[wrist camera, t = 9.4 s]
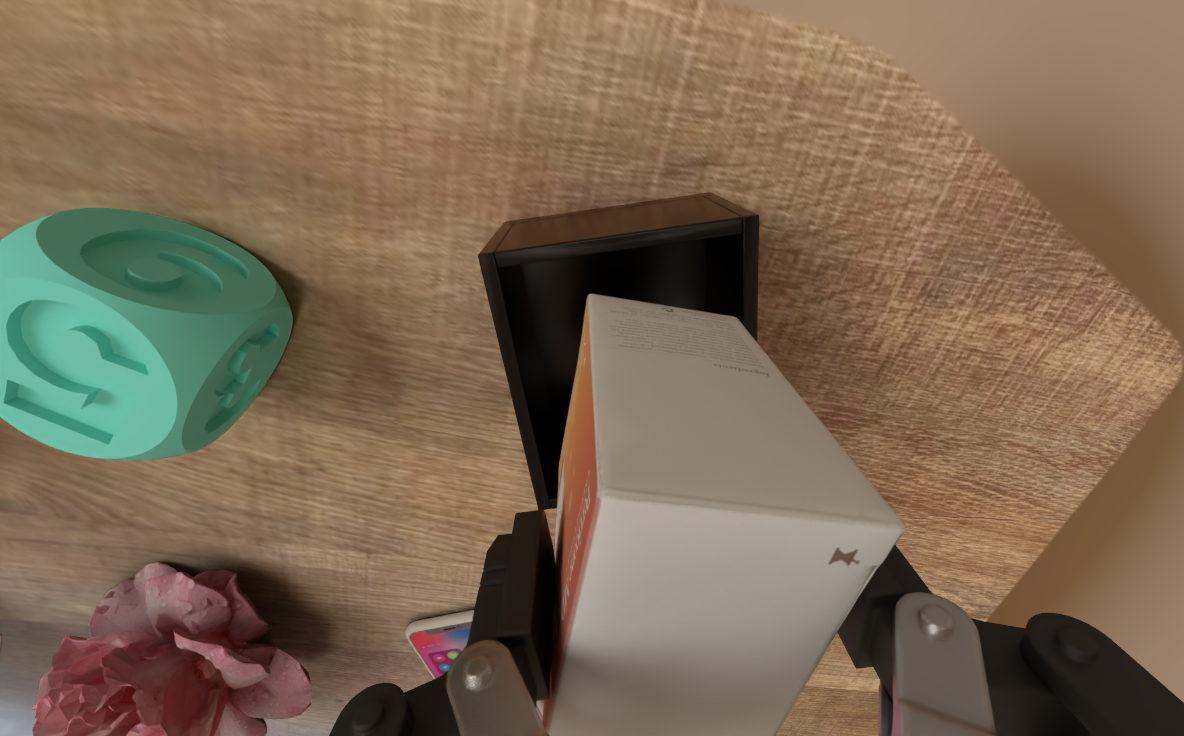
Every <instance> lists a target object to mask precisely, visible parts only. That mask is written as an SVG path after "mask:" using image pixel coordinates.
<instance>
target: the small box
mask: <svg viewBox="0 0 1184 736" xmlns="http://www.w3.org/2000/svg"><path fill="white" fill-rule="evenodd" d="M904 531H905V527H904V524H903V523H902V521H901V520H900V518H899V517H898V516H897V514H896V513H895V512H894V511H893V510H892V508H891V507H890V506H889V505H888V504H887V502H886V501H885V500H884V499H883V498H882V496H881V495H880V494H879V492H878V491H877V490H876V489H875V487H874V486H873V485H872V484H871V482H870V481H869V480H868V479H867V478H866V476H865V475H864V474H863V473H862V471H861V470H860V469H859V468H858V466H857V465H856V464H855V463H854V461H853V460H852V459H851V458H850V456H849V455H848V454H847V453H846V451H845V450H844V449H843V448H842V447H841V445H840V444H839V443H838V442H837V440H836V439H835V438H834V437H833V436H832V434H831V433H830V432H829V430H828V429H827V428H826V427H825V426H824V424H823V423H822V422H821V421H820V420H819V419H818V418H817V416H816V415H815V413H814V412H813V411H812V410H811V409H810V408H809V406H808V405H807V404H806V403H805V401H804V400H803V399H802V398H801V396H800V395H799V394H798V393H797V392H796V390H795V389H794V388H793V387H792V385H791V384H790V383H789V381H788V380H787V379H786V378H785V377H784V376H783V374H782V373H781V372H780V371H779V369H778V368H777V367H776V366H775V364H774V363H773V362H772V361H771V359H770V358H769V357H768V356H767V354H766V353H765V352H764V351H763V349H762V348H761V347H760V346H759V345H758V343H757V342H756V341H755V340H754V338H753V337H752V336H751V335H750V333H749V332H748V331H747V330H746V328H745V327H744V326H743V325H742V323H741V322H740V321H739V320H738V319H737V318H736V317H734V316H727V315H720V314H714V313H708V312H702V311H696V310H690V309H683V308H677V307H671V306H665V305H659V304H653V303H646V302H640V301H633V300H627V299H621V298H615V297H609V296H602V295H596V294H589V295H588V296H587V300H586V308H585V315H584V322H583V330H582V337H581V344H580V350H579V356H578V362H577V368H576V374H575V379H574V384H573V390H572V395H571V401H570V406H569V411H568V417H567V422H566V428H565V434H564V439H563V445H562V451H561V456H560V462H559V479H558V500H557V513H556V525H555V538H554V555H555V564H556V569H555V588H554V607H553V626H552V652H551V676H550V695H549V700H544V705H543V725H544V727H545V729H546V731H547V733H548V735H549V736H777V733H778V732H779V730H780V728H781V726H782V724H783V722H784V721H785V719H786V717H787V716H788V714H789V712H790V711H791V709H792V707H793V705H794V704H795V702H796V700H797V698H798V697H799V695H800V693H801V692H802V690H803V688H804V687H805V685H806V683H807V681H808V680H809V678H810V677H811V675H812V673H813V672H814V670H815V668H816V667H817V665H818V663H819V662H820V660H821V658H822V656H823V655H824V653H825V651H826V649H827V647H828V646H829V644H830V643H831V641H832V640H833V638H834V637H835V635H836V633H837V631H838V630H839V628H840V626H841V625H842V623H843V622H844V620H845V619H846V617H847V615H848V614H849V612H850V611H851V609H852V607H853V605H854V604H855V602H856V600H857V599H858V597H859V595H860V594H861V592H862V591H863V589H864V588H865V586H866V585H867V583H868V582H869V580H870V579H871V577H872V576H873V574H874V573H875V571H876V569H877V568H878V567H879V566H880V565H881V564H882V563H883V561H884V560H885V559H886V557H887V556H888V554H889V553H890V551H891V550H892V548H893V547H894V545H895V544H896V542H897V541H898V539H899V538H900V537H901V536H902V534H903V533H904Z"/></svg>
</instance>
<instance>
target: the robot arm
mask: <svg viewBox="0 0 1184 736" xmlns="http://www.w3.org/2000/svg"><path fill="white" fill-rule="evenodd" d="M483 569H484V572H483V573H482V578H481V582H480V585H481V586H480V587H479V591H478V596H477V601H476V605H475V610H474V614H473V619H472V624H471V628H470V633H469V637H468V641H467V645H466V647H465V649H464V650H463V651H461V652H460V653H459V654H458V656H457V657H456V658H455V659H454V661H453V662H452V664H451V666H450V668H449V670H448V671H447V672H446V673H444V674H443V675H441V676H440V677H438V678H436V679H434V680H432V681H430V682H427V683H425V684H423V685H421V686H418V687H416V688H414V689H412V690H409V691H407V692H405V693H403V691H402V689H401V688H400V687H398V686H397V685H395V684H392V683H379V684H375V685H372V686H370V687H368V688H366V689H364V690H363V691H361V692H360V693H358V694H357V695H356V696H355V697H354V698H353V699H351V700H350V701H349V703H348V704H347V705H346V706H345V707H344V709H343V710H342V712H341V713H340V715H339V717H338V719H337V720H336V723H335V725H334V727H333V729H332V731H331V733H330V735H329V736H549V735H548V733H547V731H546V729H545V727H544V725H543V722H542V720H541V718H540V716H539V714H538V712H537V709H536V703H537V701H540V700H549V695H550V676H551V652H552V626H553V607H554V588H555V569H556V564H555V555H554V549H553V545H552V540H551V536H550V532H549V527H548V523H547V519H546V515H545V512H544V510H537V511H529V512H521V513H516V515H515V520H514V526H513V532H512V534H505V535H498V536H497V538H496V539H495V541H494V542H493V544H492V545H491V547H490V548H489V549H488V551H487V555H486V559H485V564H484V568H483ZM837 632H838V634H839V636H840V638H841V640H842V642H843V644H844V646H845V648H846V650H847V652H848V654H849V656H850V658H851V660H852V661H853V663H854V665H855V667H856V668H866V667H874V669H875V671H876V673H877V675H878V676H879V678H880V685H879V721H878V736H1184V703H1183V702H1182V701H1181V700H1180V699H1179V698H1177V697H1176V696H1175V695H1174V694H1173V693H1172V692H1171V691H1169V690H1168V689H1167V688H1166V687H1165V686H1164V685H1162V684H1161V683H1160V682H1159V681H1158V680H1157V679H1156V678H1155V677H1153V676H1152V675H1151V674H1150V673H1149V672H1148V671H1146V670H1145V669H1144V668H1143V667H1142V666H1141V665H1140V664H1138V663H1137V662H1136V661H1135V660H1134V659H1133V658H1131V657H1130V656H1129V655H1128V654H1127V653H1126V652H1125V651H1124V650H1122V649H1121V648H1120V647H1119V646H1118V645H1117V644H1116V643H1114V642H1113V641H1112V640H1111V639H1110V638H1108V637H1107V636H1106V635H1105V634H1103V633H1102V632H1100V631H1099V630H1097V629H1096V628H1094V627H1092V626H1091V625H1089V624H1087V623H1085V622H1083V621H1080V620H1078V619H1075V618H1073V617H1070V616H1066V615H1062V614H1056V613H1041V614H1038V615H1035V616H1033V617H1032V618H1031V619H1030V620H1029V621H1028V623H1027V626H1026V628H1025V629H1024V628H1018V627H1013V626H1006V625H1001V624H995V623H989V622H984V621H979V620H976V619H973V618H970V617H969V615H968V614H967V613H966V612H965V611H963V610H962V609H961V608H960V607H958V606H957V605H956V604H954V603H952V602H951V601H949V600H947V599H945V598H942V597H940V596H937V595H934V594H933V593H932V592H931V591H930V590H929V589H928V587H927V586H926V585H925V583H924V582H923V581H922V579H921V578H920V577H919V575H918V574H917V573H916V571H915V570H914V569H913V568H912V566H911V565H910V564H909V562H908V561H907V560H906V558H905V557H904V556H903V554H902V553H901V552H900V550H899V549H898V548H897V546H896V545H894V547H893V548H892V550H891V551H890V553H889V554H888V556H887V557H886V559H885V560H884V561H883V563H882V564H881V565H880V566H879V567H878V568H877V569H876V571H875V573H874V574H873V576H872V577H871V579H870V580H869V582H868V583H867V585H866V586H865V588H864V589H863V591H862V592H861V594H860V595H859V597H858V599H857V600H856V602H855V604H854V605H853V607H852V609H851V611H850V612H849V614H848V615H847V617H846V619H845V620H844V622H843V623H842V625H841V626H840V628H839V630H838V631H837Z"/></svg>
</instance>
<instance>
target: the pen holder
mask: <svg viewBox="0 0 1184 736" xmlns="http://www.w3.org/2000/svg"><path fill="white" fill-rule="evenodd" d="M758 254H759V215H757V214H755V213H753V212H751V211H749V210H747V209H745V208H743V207H740V206H738V205H736V204H734V203H732V202H730V201H728V200H726V199H724V198H721V197H719V196H717V195H715V194H713V193H710V192H709V193H703V194H696V195H689V196H682V197H675V198H668V199H661V200H654V201H647V202H640V203H633V204H626V205H619V206H612V207H605V208H598V209H591V210H585V211H578V212H571V213H564V214H557V215H550V216H543V217H536V218H529V219H522V220H515V221H508V222H504V223H503V225H502V226H501V227H500V228H499V229H498V231H497V232H496V233H495V234H494V236H493V237H492V238H491V239H490V241H489V242H488V243H487V244H486V246H485V247H484V248H483V249H482V251H481V252H480V253H479V254H478V258H479V262H480V266H481V271H482V275H483V279H484V283H485V287H486V292H487V296H488V300H489V304H490V308H491V313H492V317H493V321H494V325H495V329H496V333H497V338H498V342H499V346H500V350H501V354H502V359H503V363H504V367H505V371H506V375H507V380H508V384H509V388H510V392H511V396H512V401H513V405H514V409H515V413H516V417H517V422H518V426H519V430H520V434H521V438H522V443H523V447H524V451H525V455H526V459H527V464H528V468H529V472H530V476H531V480H532V484H533V489H534V493H535V497H536V501H537V505H538V509H539V510H545V509H554V508H557V500H558V479H559V462H560V456H561V451H562V445H563V439H564V434H565V428H566V422H567V417H568V411H569V406H570V401H571V395H572V390H573V384H574V379H575V374H576V368H577V362H578V356H579V350H580V344H581V337H582V330H583V322H584V315H585V308H586V300H587V296H588V295H589V294H596V295H602V296H609V297H615V298H621V299H627V300H633V301H640V302H646V303H653V304H659V305H665V306H671V307H677V308H683V309H690V310H696V311H702V312H708V313H714V314H720V315H727V316H734V317H736V318H737V319H738V320H739V321H740V322H741V323H742V325H743V326H744V327H745V328H746V330H747V331H748V332H749V333H750V335H751V336H752V337H753V338H754V340H755V341H756V342H757V314H758Z"/></svg>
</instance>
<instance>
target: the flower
mask: <svg viewBox="0 0 1184 736" xmlns="http://www.w3.org/2000/svg"><path fill="white" fill-rule="evenodd" d="M90 624H91V633H92V636H93V637H89V638H87V639H86V638H81V637H75V636H67V637H66V638H64V639H62V642H61V644H60V646H59V648H58V650H57V652H56V653H55V655H54V656H53V665H52V666H51V667H50V668H49V669H48V670H47V671H46V673H45V674H44V676H43V677H42V679H41V680H40V682H39V692H38V696H37V699H36V705H35V706H34V708H33V709H36V717H35V718H36V721H35V724H34V727H33V734H34V736H265V734H266V733H267V726H266V723H265V721H264V719H263V718H266V719H284V718H291V717H294V716H298V715H301V714H302V713H303V712H304V711H305V710H306V709H307V708H308V707H309V706H310V705H311V700H312V683H311V682H310V676H309V673H308V672H307V670H306V669H305V668H304V667H303V666H302V665H301V664H300V663H299V662H298V661H297V660H295V659H294V658H292V657H291V656H289V655H288V654H287V653H285V652H283V651H281V650H280V649H278V648H277V647H276V646H275V644H274V642H273V640H272V637H271V635H270V634H271V629H270V627H269V626H268V624H267V623H266V622H265V621H264V619H263V618H262V617H261V615H260V614H259V612H258V610H257V609H256V607H255V606H254V604H253V602H252V601H251V600H250V598H249V597H248V596H247V595H246V594H244V593H242V591H241V589H240V587H239V585H238V583H237V573H235V572H230V571H226V570H222V569H219V570H211V571H205V572H202V573H200V574H197V575H196V576H195V577H194V578H193V577H192V576H190V575H189V574H187V573H184V572H181V571H180V572H179V573H178V572H177V571H176V570H175V569H174V568H172V567H170V566H169V565H168V564H167V563H161V562H155V563H150V564H148V565H146V566H145V567H144V568H143V569H142V570H140V571H139V572H138V573H137V574H136V575H134V576H133V577H132V578H129V579H127V580H125V581H123V582H121V583H119V584H118V585H116V586H114V587H113V588H111V589H109V590H108V591H107V592H106V594H105V595H104V597H103V598H102V600H101V601H100V602H99V604H98V605H97V607H96V609H95V611H94V614H93V617H92V620H91V623H90Z"/></svg>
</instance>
